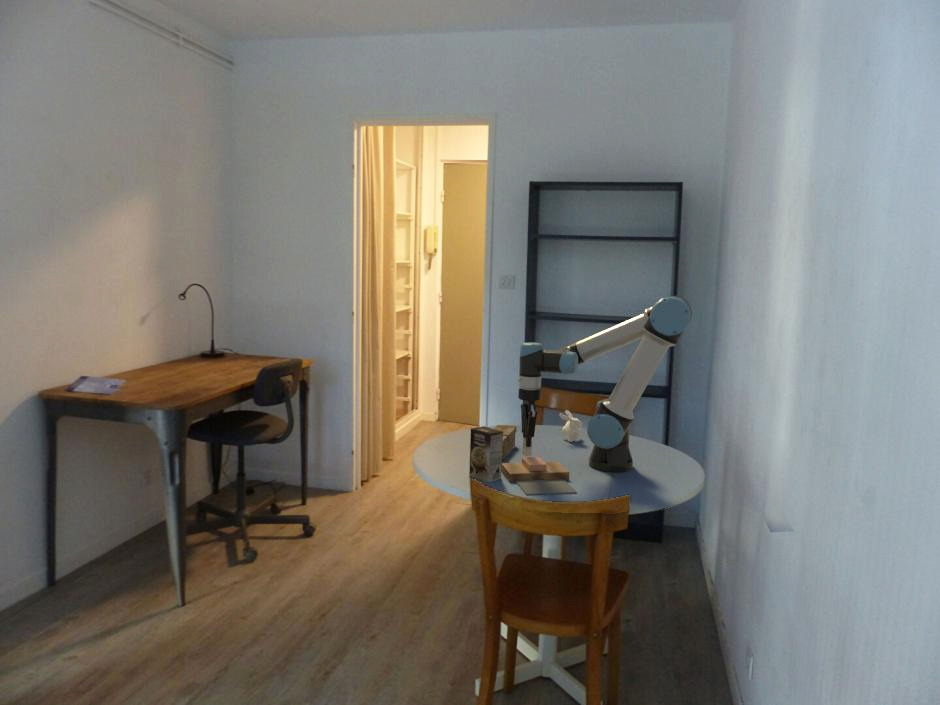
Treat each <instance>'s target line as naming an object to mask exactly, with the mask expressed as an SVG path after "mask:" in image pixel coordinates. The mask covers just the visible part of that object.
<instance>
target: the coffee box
mask: <svg viewBox="0 0 940 705" xmlns="http://www.w3.org/2000/svg"><path fill="white" fill-rule="evenodd" d="M502 443H503V431H499V430H496V429H494V428H492V427H488V426H483V425H482V426H477V427H472V428H470V444H469V448H470V450H469V472H468V473H469V474H468V475H469V477H471V478H474V479H477V480H480V481H483V482H486V483H492V482H495V481H499V480H501V479H502V471H501V464H502V463H503V460H502Z"/></svg>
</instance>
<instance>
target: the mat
mask: <svg viewBox="0 0 940 705" xmlns="http://www.w3.org/2000/svg"><path fill="white" fill-rule="evenodd" d="M515 482H516V484H517V485H518V486H519V488H520V487H521V488H520V489H521V490H522V491H523V493H524V492H525V493H524V494H525V495H526V496H538V494H545V495H565V494H566V495H567V494H568V495H572V494H578V492H577V491H576V490H575V489H574V488H573V487H572V486H571V485H570V484H569V483H568V482H567V480H564V479H556V480H524V481H515Z"/></svg>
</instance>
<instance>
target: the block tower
mask: <svg viewBox="0 0 940 705" xmlns="http://www.w3.org/2000/svg"><path fill="white" fill-rule="evenodd" d="M517 428H518V427H517V425H515V424H514V425H511V424H509V425H508V424H497V425H496V426H495V427H494V428H493V429H496V430H499V431H503V443H502V461H503V460H505V458H506V457H507V456H508V455H509V454H510V453H511V452H512V451H513V449H514V448H515V447H516V433H517Z"/></svg>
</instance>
